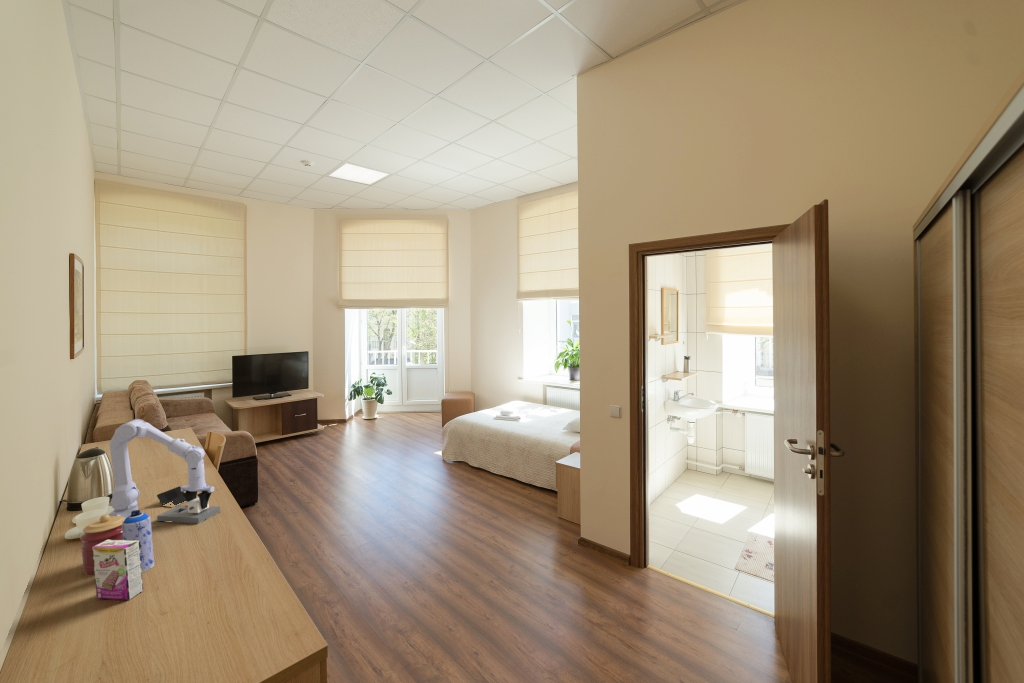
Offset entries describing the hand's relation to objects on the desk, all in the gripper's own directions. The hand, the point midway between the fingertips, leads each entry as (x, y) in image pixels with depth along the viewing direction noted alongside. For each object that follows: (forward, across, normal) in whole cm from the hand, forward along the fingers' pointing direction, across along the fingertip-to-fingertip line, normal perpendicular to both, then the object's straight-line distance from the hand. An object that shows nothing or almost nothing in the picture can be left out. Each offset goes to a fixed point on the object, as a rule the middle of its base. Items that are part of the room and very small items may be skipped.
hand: (198, 507), depth 192 cm
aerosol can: (+4, -14, +38) cm, 41 cm away
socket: (+4, +5, 0) cm, 6 cm away
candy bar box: (+4, -23, +52) cm, 57 cm away
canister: (+4, 0, +37) cm, 37 cm away
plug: (+3, 0, 0) cm, 3 cm away
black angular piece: (+5, +26, -14) cm, 30 cm away
